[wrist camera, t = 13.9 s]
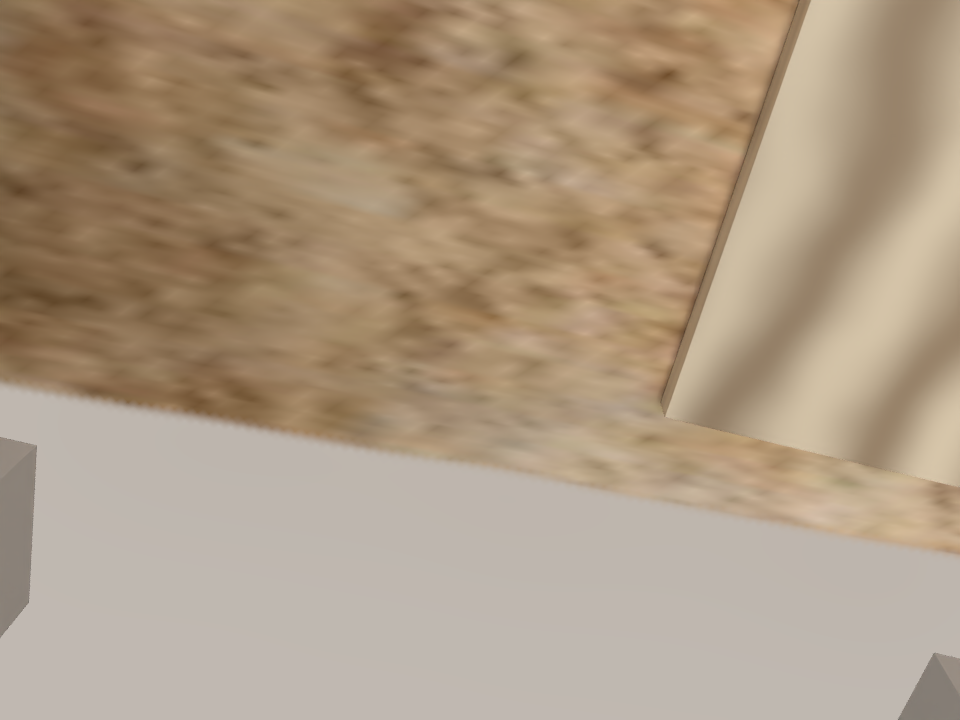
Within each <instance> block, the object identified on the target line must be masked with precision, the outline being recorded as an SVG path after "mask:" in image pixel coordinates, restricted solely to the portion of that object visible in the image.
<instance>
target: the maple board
mask: <svg viewBox="0 0 960 720" xmlns="http://www.w3.org/2000/svg"><path fill="white" fill-rule="evenodd" d="M661 406H662V409H663V412H664V416H665V417H666V418H670V419H674V420H678V421H683V422H687V423H691V424H695V425H699V426H704V427H708V428H712V429H716V430H720V431H725V432H729V433H733V434H737V435H741V436H746V437H750V438H754V439H758V440H762V441H767V442H771V443H775V444H779V445H783V446H788V447H792V448H796V449H800V450H804V451H809V452H813V453H817V454H821V455H825V456H830V457H834V458H838V459H842V460H846V461H851V462H855V463H859V464H863V465H867V466H872V467H876V468H880V469H884V470H888V471H893V472H897V473H901V474H905V475H910V476H914V477H918V478H922V479H926V480H931V481H935V482H939V483H943V484H947V485H952V486H956V487H960V0H800V1H799V4H798V7H797V10H796V13H795V15H794V18H793V21H792V24H791V27H790V30H789V33H788V36H787V39H786V41H785V44H784V47H783V50H782V53H781V56H780V59H779V62H778V65H777V67H776V70H775V73H774V76H773V79H772V82H771V85H770V88H769V91H768V93H767V96H766V99H765V102H764V105H763V108H762V111H761V114H760V117H759V120H758V122H757V125H756V128H755V131H754V134H753V137H752V140H751V143H750V146H749V148H748V151H747V154H746V157H745V160H744V163H743V166H742V169H741V172H740V174H739V177H738V180H737V183H736V186H735V189H734V192H733V195H732V198H731V200H730V203H729V206H728V209H727V212H726V215H725V218H724V221H723V224H722V227H721V229H720V232H719V235H718V238H717V241H716V244H715V247H714V250H713V253H712V255H711V258H710V261H709V264H708V267H707V270H706V273H705V276H704V279H703V281H702V284H701V287H700V290H699V293H698V296H697V299H696V302H695V305H694V307H693V310H692V313H691V316H690V319H689V322H688V325H687V328H686V331H685V333H684V336H683V339H682V342H681V345H680V348H679V351H678V354H677V357H676V360H675V362H674V365H673V368H672V371H671V374H670V377H669V380H668V383H667V386H666V388H665V391H664V394H663V397H662V400H661Z"/></svg>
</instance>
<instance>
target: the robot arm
mask: <svg viewBox="0 0 960 720" xmlns="http://www.w3.org/2000/svg"><path fill="white" fill-rule="evenodd" d="M36 450H37V446H36V445H32V444H28V443H23V442H19V441H14V440H11V439H6V438H1V437H0V637H1V636H2V635H3V633H4V632H5V631H6V630H7V629H8V627H9V626H10V625H11V624H12V622H13V621H14V620H15V619H16V618H17V616H18V615H19V614H20V613H21V611H22V610H23V609H24V607H26V605H27V604H28V603H29V591H30V590H29V589H30V569H31V550H32V529H33V509H34V490H35V469H36ZM898 720H960V659H959V658H955V657H950V656H946V655H942V654H937V653H934V654H933V656H932V658H931V659H930V661H929V663H928V665H927V667H926V669H925V670H924V672H923V674H922V676H921V678H920V680H919V682H918V683H917V685H916V687H915V689H914V691H913V693H912V695H911V696H910V698H909V700H908V702H907V704H906V706H905V708H904V709H903V711H902V713H901V715H900V717H899V719H898Z"/></svg>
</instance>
